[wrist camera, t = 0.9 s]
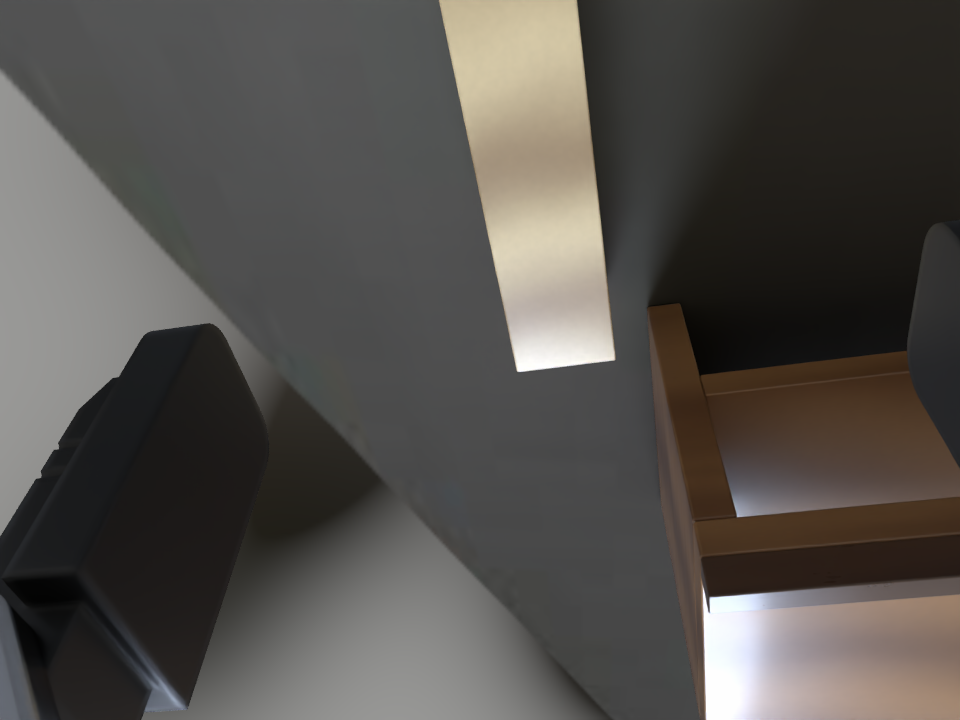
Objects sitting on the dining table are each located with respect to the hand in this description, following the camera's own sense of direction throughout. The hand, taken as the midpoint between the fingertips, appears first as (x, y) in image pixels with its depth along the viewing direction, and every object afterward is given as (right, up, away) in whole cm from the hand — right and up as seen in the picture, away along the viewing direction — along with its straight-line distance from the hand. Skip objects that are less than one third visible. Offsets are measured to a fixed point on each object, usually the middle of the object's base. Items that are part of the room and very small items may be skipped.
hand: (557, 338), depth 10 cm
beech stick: (+1, +8, +15) cm, 17 cm away
